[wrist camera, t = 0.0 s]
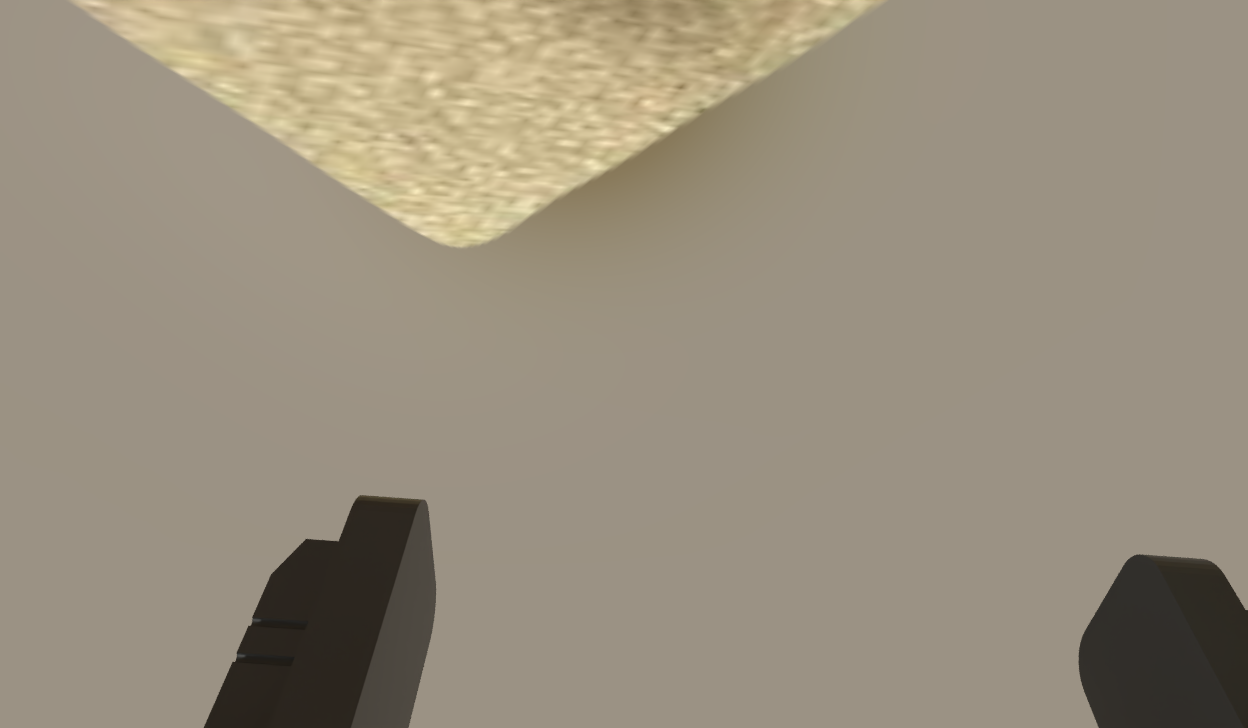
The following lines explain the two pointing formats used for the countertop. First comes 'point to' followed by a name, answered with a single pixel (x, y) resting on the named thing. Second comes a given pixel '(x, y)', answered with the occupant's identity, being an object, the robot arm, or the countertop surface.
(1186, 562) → the robot arm
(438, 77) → the countertop surface
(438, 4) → the countertop surface
